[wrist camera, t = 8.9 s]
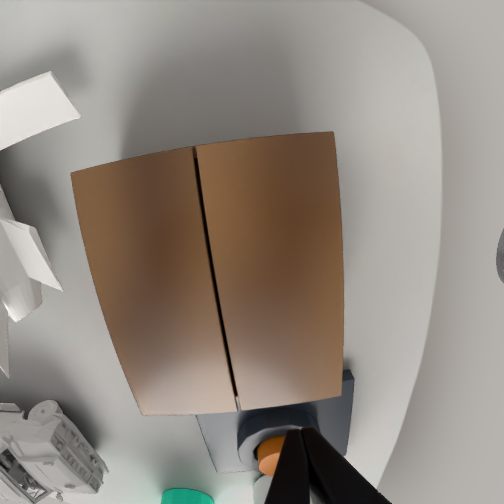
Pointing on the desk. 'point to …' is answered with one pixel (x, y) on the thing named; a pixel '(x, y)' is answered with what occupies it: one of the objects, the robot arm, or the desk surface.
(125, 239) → the carton
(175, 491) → the candle
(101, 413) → the desk surface
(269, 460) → the button
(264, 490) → the can
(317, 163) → the flap
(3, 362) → the airplane model
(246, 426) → the button box
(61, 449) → the toy car
